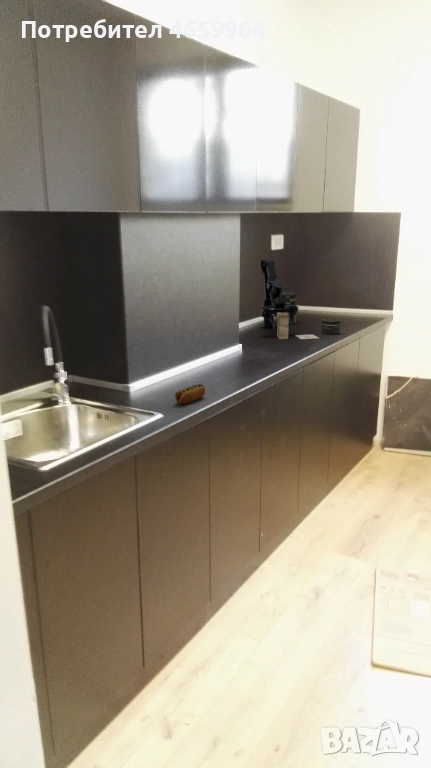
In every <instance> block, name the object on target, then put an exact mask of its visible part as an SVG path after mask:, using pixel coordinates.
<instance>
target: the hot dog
mask: <svg viewBox="0 0 431 768" xmlns="http://www.w3.org/2000/svg"><path fill="white" fill-rule="evenodd" d="M205 394H206V387H205V386H204V384H202V383H199V384H193V385H191V386H190V385H189V386H187V387H184V388H180V389H178V390H177V391H176V392H175V393H174V398H175V401H176V403H178V404H179V405H187V404H186V403H188V404H190V403H189V402H191V403H193V402H192V401H194V400H196V401H198V400H200V399H202V398H203V396H204V395H205ZM201 397H202V398H201ZM199 398H200V399H199ZM197 399H198V400H197ZM194 402H195V401H194Z"/></svg>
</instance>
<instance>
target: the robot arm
mask: <svg viewBox="0 0 431 768" xmlns="http://www.w3.org/2000/svg"><path fill="white" fill-rule="evenodd" d="M258 267H259V270H260V273H261V275H262V277H263V290H264V292H263V293H264V301H263V303H262V306H261V309H260V317H261V318H263V325H262V327H261V328H262V329H274V328H275V327H276V325H275V318H278V313H287V312H288V314H289V322H290V324H289V325H293V324H292V318H293V316H294V315H297V312H298V311H299V307H298V305H297V304H295V305H290V306H289V308H284V307H285V306H286V303H287V302H290V297H289V296H285V297H282V296H281V293H282V292H284V291H283V290H284V288H285V282H284V280H282V279H281V277H280V276H278V275H277V272H276V260H274V259H271V258H270V259H261V260H260V261H259V262H258Z"/></svg>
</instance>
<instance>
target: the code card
mask: <svg viewBox="0 0 431 768" xmlns="http://www.w3.org/2000/svg"><path fill="white" fill-rule="evenodd" d="M295 337H297V338H299V339H300V340H309V339H319V337H318V336H317V335H315V334H296V335H295Z"/></svg>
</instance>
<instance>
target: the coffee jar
mask: <svg viewBox="0 0 431 768" xmlns="http://www.w3.org/2000/svg"><path fill="white" fill-rule="evenodd" d="M281 296H282V297H285V296H289V297H290V302H287V303H286V306H285V307H284V308H289V306H290V305H297V304H296V303H297V300H298V299H297V292H294V291H283V292H282V293H281ZM287 313H288V312H287ZM296 315H297V314H296ZM296 315H294V316H293V318H292V324H290V322H289V324H288V325H295V324H296V323H297V321H296V320H297V319H296V318H297V316H296Z"/></svg>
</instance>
